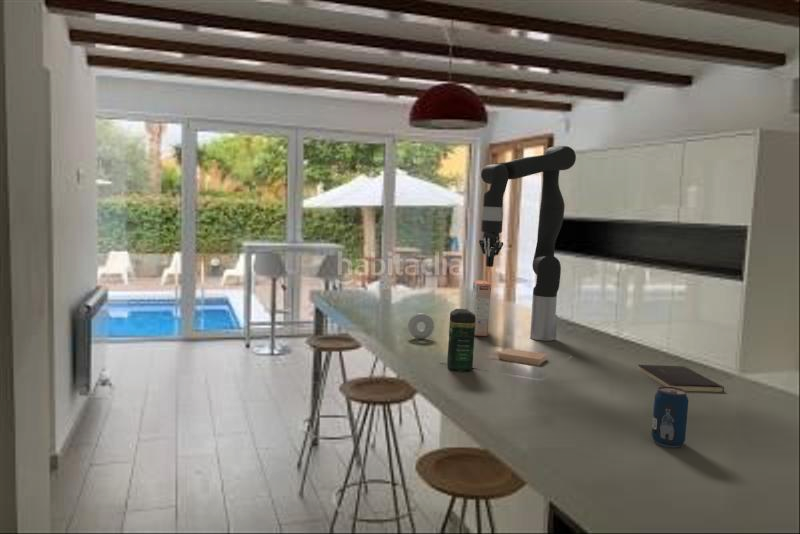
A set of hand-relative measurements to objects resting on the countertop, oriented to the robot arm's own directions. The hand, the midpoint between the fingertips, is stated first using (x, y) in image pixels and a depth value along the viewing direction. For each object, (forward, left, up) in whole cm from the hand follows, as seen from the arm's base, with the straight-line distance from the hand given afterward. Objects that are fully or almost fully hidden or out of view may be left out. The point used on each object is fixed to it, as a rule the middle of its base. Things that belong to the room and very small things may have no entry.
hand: (489, 266), depth 235 cm
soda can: (+17, +99, -29) cm, 105 cm away
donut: (+20, -14, -29) cm, 38 cm away
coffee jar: (+28, +28, -29) cm, 49 cm away
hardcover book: (-31, +61, -30) cm, 75 cm away
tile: (+7, +21, -27) cm, 35 cm away
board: (+4, +25, -29) cm, 38 cm away
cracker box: (-9, -18, -29) cm, 35 cm away
